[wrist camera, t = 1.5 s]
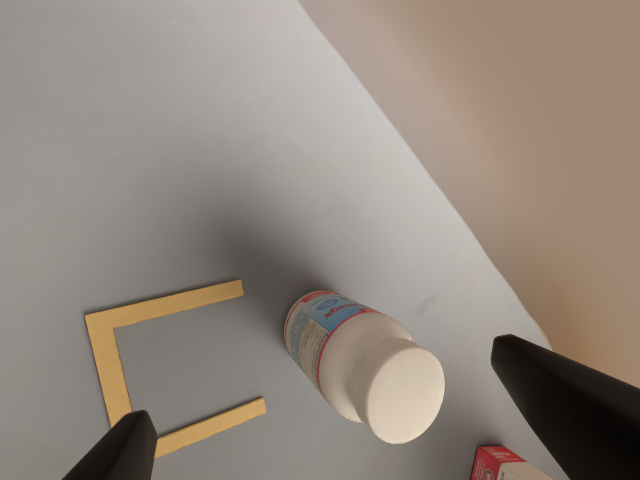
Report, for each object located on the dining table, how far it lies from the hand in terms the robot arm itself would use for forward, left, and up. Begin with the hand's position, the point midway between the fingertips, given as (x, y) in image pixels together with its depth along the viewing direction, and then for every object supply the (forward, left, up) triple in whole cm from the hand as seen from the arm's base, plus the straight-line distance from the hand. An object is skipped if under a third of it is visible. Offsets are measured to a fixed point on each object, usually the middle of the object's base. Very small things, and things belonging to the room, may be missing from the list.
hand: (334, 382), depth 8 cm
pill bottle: (-5, -5, -16) cm, 17 cm away
